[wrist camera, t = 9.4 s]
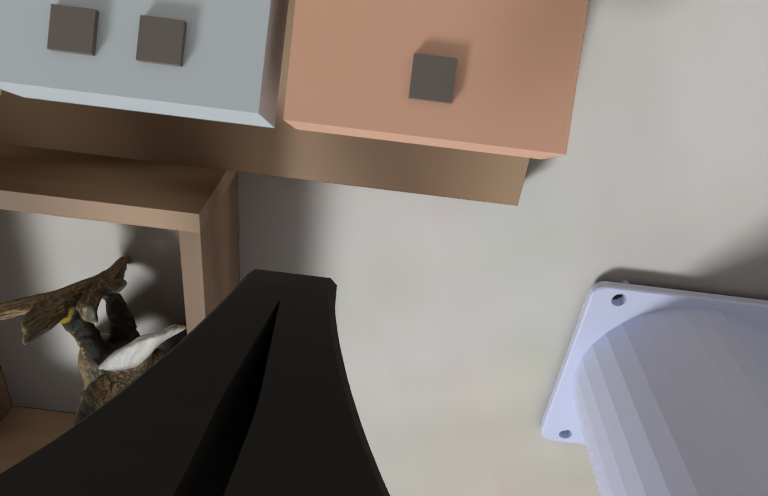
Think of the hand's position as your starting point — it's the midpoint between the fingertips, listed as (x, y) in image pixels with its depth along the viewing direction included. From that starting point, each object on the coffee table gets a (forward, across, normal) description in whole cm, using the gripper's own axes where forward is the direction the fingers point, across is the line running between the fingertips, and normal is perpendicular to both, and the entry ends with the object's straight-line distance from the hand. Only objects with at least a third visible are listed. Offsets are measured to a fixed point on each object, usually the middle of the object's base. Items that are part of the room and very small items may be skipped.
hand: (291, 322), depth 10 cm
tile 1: (+7, -2, -4) cm, 8 cm away
